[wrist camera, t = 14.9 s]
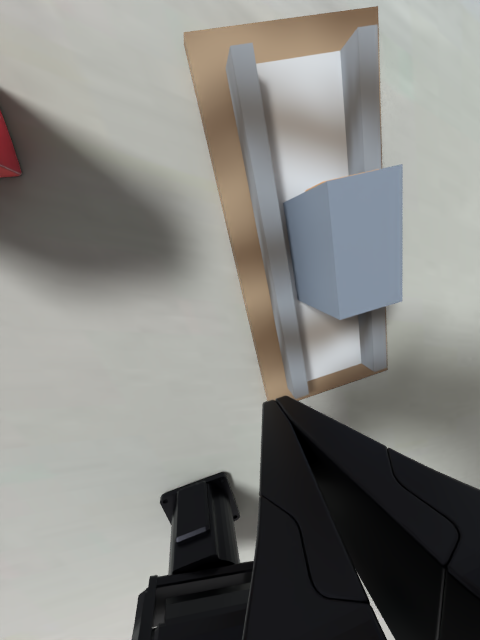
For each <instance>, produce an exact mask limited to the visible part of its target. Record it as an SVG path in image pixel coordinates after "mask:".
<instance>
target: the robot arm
mask: <svg viewBox="0 0 480 640" xmlns="http://www.w3.org/2000/svg"><path fill="white" fill-rule="evenodd" d="M259 496H260V497H259V512H258V527H257V540H256V548H255V556H254V561H250V562H244V563H240V560H239V553H238V547H237V541H236V535H235V528H234V522H233V521H235V520H237V519H239V517H240V515H239V510H238V507H237V505H236V502H235V499H234V496H233V493H232V490H231V487H230V485H229V482H228V479H227V476H226V474H225V473H219V474H217V475H214V476H211V477H208V478H206V479H203V480H200V481H198V482H195V483H192V484H189V485H187V486H184V487H181V488H179V489H176V490H173V491H170V492H168V493H165V494H163V495H162V496H161V498H160V504H161V506H162V508H163V510H164V512H165V514H166V516H167V518H168V520H169V522H170V524H171V525H172V527H171V542H170V558H169V573H168V575H165V576H159V577H157V575H155V576H150V579H149V587H148V588H146V590H145V591H144V592H142V593H141V594H140V595H139V597H138V604H137V610H136V617H135V624H134V630H133V635H132V640H387V639H386V637H385V634H384V632H383V630H382V628H381V626H380V624H379V622H378V620H377V617H376V615H375V613H374V611H373V608H372V607H371V606H370V602H369V599H368V597H367V594H366V592H365V590H364V588H363V585H362V583H361V581H360V579H359V576H360V578H361V580H362V582H363V583H364V585H365V587H366V589H367V590H368V592H369V594H370V596H371V598H372V599H373V601H374V603H375V605H376V606H377V608H378V610H379V612H380V613H381V615H382V617H383V619H384V621H385V622H386V624H387V626H388V628H389V629H390V631H391V633H392V635H393V636H394V638H395V640H480V490H479V489H477V488H475V487H472V486H470V485H467V484H465V483H463V482H460V481H458V480H456V479H454V478H451V477H449V476H447V475H445V474H442V473H440V472H438V471H436V470H433V469H431V468H429V467H427V466H425V465H423V464H421V463H419V462H417V461H415V460H413V459H411V458H409V457H406V456H404V455H402V454H401V453H399V452H397V451H395V450H393V449H391V448H388V449H387V447H386V446H385V445H383V444H381V443H379V442H377V441H375V440H373V439H371V438H369V437H367V436H365V435H363V434H361V433H359V432H357V431H355V430H353V429H351V428H349V427H348V426H346V425H344V424H342V423H340V422H338V421H336V420H334V419H332V418H330V417H328V416H326V415H324V414H322V413H320V412H318V411H316V410H314V409H312V408H310V407H308V406H307V405H305V404H303V403H301V402H299V401H297V400H295V399H293V398H291V397H289V396H286V395H285V396H282V397H279V398H276V399H275V400H270V401H266V402H264V403H263V408H262V436H261V463H260V491H259ZM356 571H357V572H356ZM357 573H358V574H357ZM358 575H359V576H358ZM156 626H157V628H154V627H156Z"/></svg>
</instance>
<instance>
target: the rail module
mask: <svg viewBox="0 0 480 640" xmlns="http://www.w3.org/2000/svg"><path fill="white" fill-rule="evenodd" d="M283 206H284V213H285V219H286V226H287V232H288V239H289V246H290V252H291V259H292V265H293V272H294V279H295V285H296V292H297V298H298V300H299V301H301V302H303V303H305V304H307V305H309V306H312V307H314V308H316V309H318V310H320V311H322V312H324V313H326V314H328V315H330V316H333V317H335V318H337V319H339V320H342V319H345V318H348V317H352V316H355V315H358V314H361V313H365V312H368V311H371V310H375V309H378V308H381V307H384V306H388V305H391V304H394V303H398V302H401V301H402V164H401V165H397V166H392V167H388V168H383V169H377V170H372V171H368V172H363V173H359V174H354V175H350V176H345V177H341V178H336V179H332V180H327V181H323V182H321V183H319V184H317V185H315V186H313V187H311V188H309V189H307V190H305V192H304V193H302V194H300V195H298V196H296V197H294V198H292V199H290V200H288V201H286V202H284V203H283Z"/></svg>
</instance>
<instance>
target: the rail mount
mask: <svg viewBox="0 0 480 640" xmlns="http://www.w3.org/2000/svg"><path fill="white" fill-rule="evenodd" d="M184 46H185V50H186V55H187V59H188V63H189V67H190V72H191V76H192V80H193V84H194V89H195V93H196V97H197V102H198V106H199V110H200V114H201V119H202V123H203V127H204V132H205V136H206V140H207V144H208V149H209V153H210V157H211V161H212V166H213V170H214V174H215V179H216V183H217V187H218V191H219V196H220V200H221V204H222V208H223V213H224V217H225V221H226V226H227V230H228V234H229V238H230V243H231V247H232V251H233V256H234V260H235V264H236V268H237V273H238V277H239V281H240V285H241V290H242V294H243V298H244V303H245V307H246V311H247V315H248V320H249V324H250V328H251V332H252V337H253V341H254V345H255V350H256V354H257V358H258V362H259V367H260V371H261V375H262V380H263V384H264V388H265V392H266V397H267V401H270V400H275V399H276V398H279V397H282V396H285V395H286V396H289V397H291V398H293V399H295V400H297V401H299V400H301V399H304V398H307V397H310V396H313V395H316V394H319V393H322V392H325V391H328V390H330V389H333V388H336V387H339V386H342V385H345V384H348V383H351V382H354V381H357V380H359V379H362V378H365V377H368V376H371V375H374V374H377V373H380V372H383V371H386V370H387V336H386V306H384V307H381V308H378V309H375V310H371V311H368V312H365V313H361V314H358V315H355V316H352V317H348V318H345V319H342V320H339V319H337V318H335V317H333V316H330V315H328V314H326V313H324V312H322V311H320V310H318V309H316V308H314V307H312V306H309V305H307V304H305V303H303V302H301V301H299V300H298V298H297V292H296V285H295V279H294V272H293V265H292V259H291V252H290V246H289V239H288V232H287V226H286V219H285V213H284V206H283V203H284V202H286V201H288V200H290V199H292V198H294V197H296V196H298V195H300V194H302V193H304V192H305V190H307V189H309V188H311V187H313V186H315V185H317V184H319V183H321V182H323V181H327V180H332V179H336V178H341V177H345V176H350V175H354V174H359V173H363V172H368V171H372V170H377V169H382V144H381V105H380V67H379V28H378V6H376V7H369V8H362V9H354V10H347V11H339V12H332V13H324V14H317V15H310V16H302V17H295V18H287V19H280V20H272V21H265V22H258V23H250V24H243V25H235V26H228V27H220V28H213V29H206V30H198V31H191V32H184Z"/></svg>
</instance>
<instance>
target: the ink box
mask: <svg viewBox="0 0 480 640" xmlns="http://www.w3.org/2000/svg"><path fill="white" fill-rule="evenodd" d="M21 174H22V172H21V169H20V165H19V162H18V159H17V156H16V153H15V150H14V147H13V144H12V141H11V138H10V135H9V132H8V129H7V126H6V124H5V121H4V118H3V116H2V113H1V110H0V177H12V176H20V175H21Z"/></svg>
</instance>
